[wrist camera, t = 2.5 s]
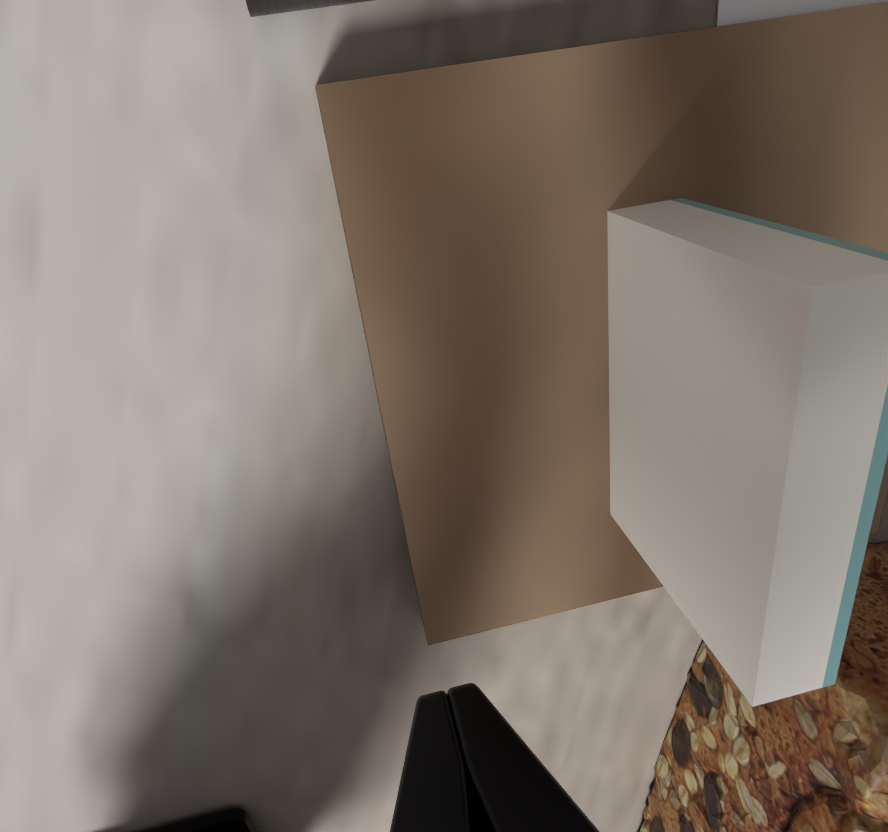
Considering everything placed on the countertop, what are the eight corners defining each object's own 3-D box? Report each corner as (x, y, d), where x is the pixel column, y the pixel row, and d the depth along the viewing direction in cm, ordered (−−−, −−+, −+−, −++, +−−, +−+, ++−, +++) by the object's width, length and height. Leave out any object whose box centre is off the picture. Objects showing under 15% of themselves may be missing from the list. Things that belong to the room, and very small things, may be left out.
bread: (715, 538, 23) (973, 816, 14) (956, 526, 25) (1309, 758, 16) (609, 854, 31) (731, 1157, 22) (799, 823, 33) (979, 1086, 24)
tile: (610, 514, 19) (752, 706, 13) (607, 211, 15) (812, 287, 9) (668, 500, 20) (834, 684, 13) (681, 197, 15) (930, 264, 9)
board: (421, 618, 21) (428, 645, 20) (315, 86, 14) (315, 84, 13) (851, 513, 23) (877, 532, 22) (959, -9, 16) (1007, -17, 15)
